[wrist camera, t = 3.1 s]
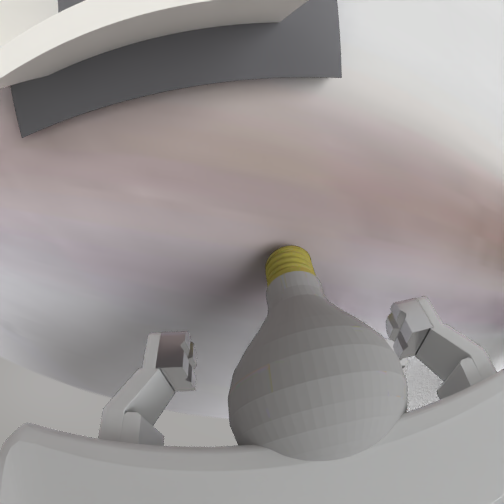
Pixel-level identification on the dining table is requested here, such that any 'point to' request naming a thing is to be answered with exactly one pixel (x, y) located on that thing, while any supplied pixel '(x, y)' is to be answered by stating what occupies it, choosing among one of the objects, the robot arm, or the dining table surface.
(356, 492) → the robot arm
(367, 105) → the dining table surface
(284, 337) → the light bulb
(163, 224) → the dining table surface
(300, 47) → the lamp base
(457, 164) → the dining table surface
